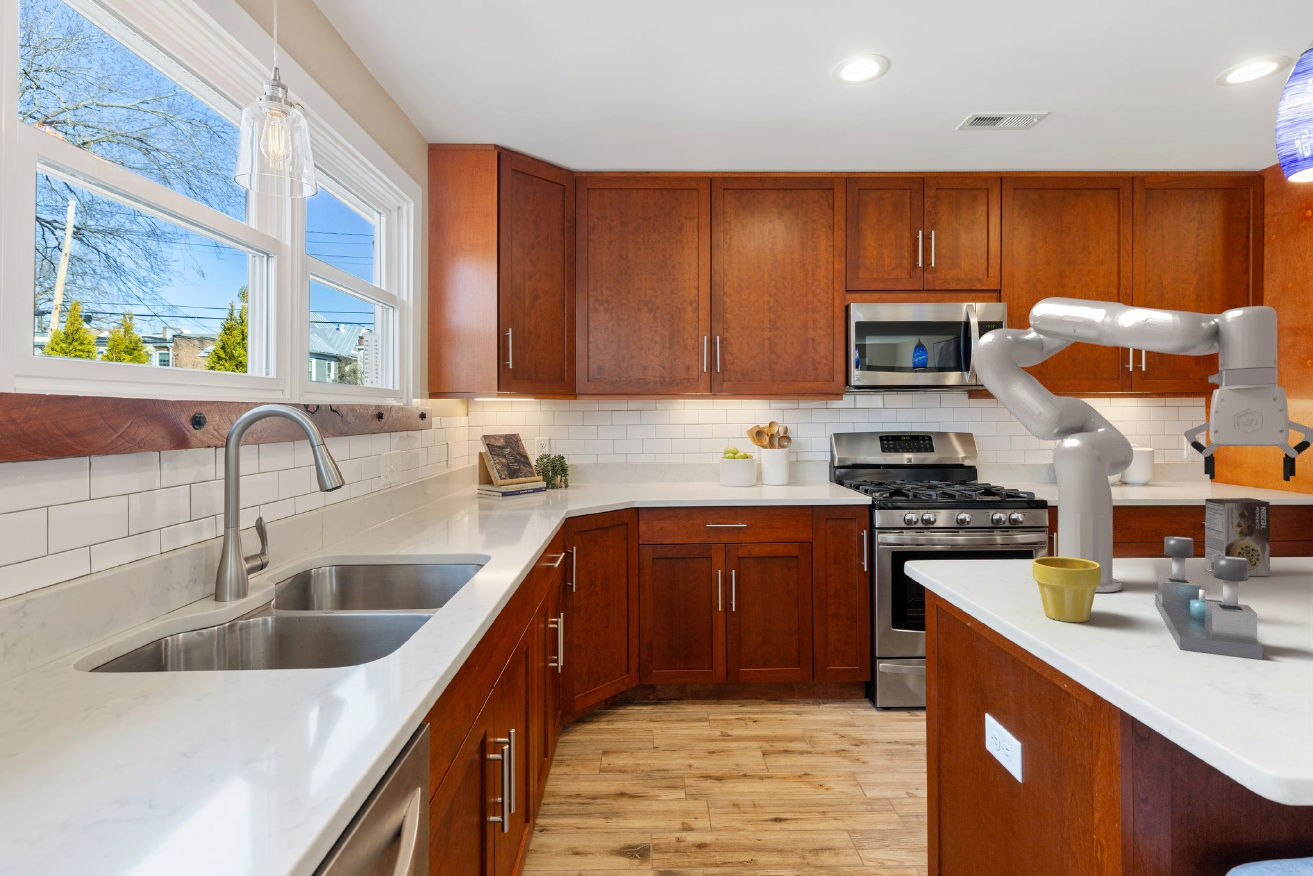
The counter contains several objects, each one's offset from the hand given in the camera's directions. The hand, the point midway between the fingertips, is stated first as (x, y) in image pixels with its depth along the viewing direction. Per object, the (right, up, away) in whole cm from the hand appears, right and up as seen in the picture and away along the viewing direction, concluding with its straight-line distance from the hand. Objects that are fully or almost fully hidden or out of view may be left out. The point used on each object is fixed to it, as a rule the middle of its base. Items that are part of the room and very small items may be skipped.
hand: (1248, 479), depth 116 cm
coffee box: (+25, -23, +31) cm, 45 cm away
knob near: (-14, -18, -13) cm, 26 cm away
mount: (-12, -24, -5) cm, 28 cm away
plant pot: (-30, -25, +3) cm, 39 cm away
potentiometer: (-12, -22, -5) cm, 26 cm away
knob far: (-10, -18, +3) cm, 20 cm away
